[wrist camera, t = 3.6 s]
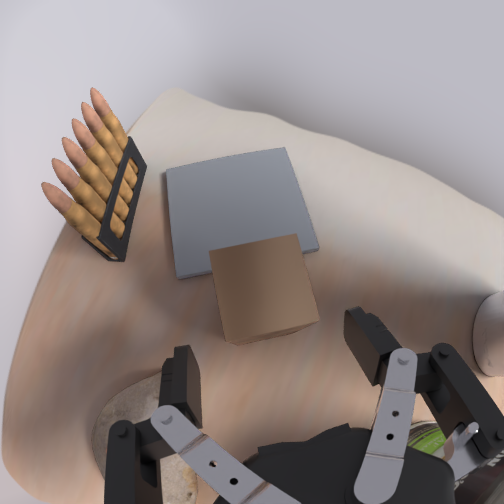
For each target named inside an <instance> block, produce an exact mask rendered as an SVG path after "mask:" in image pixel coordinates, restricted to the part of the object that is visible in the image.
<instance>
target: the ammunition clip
mask: <svg viewBox="0 0 504 504" xmlns="http://www.w3.org/2000/svg"><path fill="white" fill-rule="evenodd" d="M90 95H91V100H92V104H93V107H94V109H95V111H96V112H95V111H94V109H93V108H92V107H91V106H89V105H88V104H87V103H84V102H82V104H81V109H82V114H83V117H84V120H85V122H86V124H87V126H88V128H89V130H90V131H89V130H88V129H87V127H86V126H85V125H83V124H82V123H81V122H80V121H78V120H77V119H72V127H73V131H74V134H75V136H76V138H77V140H78V142H79V144H80V145H81V147H82V148H83V151H84V152H85V153H86V155H85V153H84V152H83V151H82V149H81V148H79V146H78V145H77V144H75V143H74V142H73V141H71V140H70V139H68V138H66V137H63V138H62V144H63V147H64V150H65V152H66V155H67V157H68V158H69V160H70V162H71V163H72V164H73V166H74V167H75V169H76V170H77V172H78V173H79V175H80V177H81V178H80V177H79V176H78V175H77V174H76V173H75V172H74V171H73V170H72V169H71V168H70V167H69V166H68V165H66V164H65V163H63V162H62V161H60V160H58V159H55V158H53V159H52V165H53V169H54V171H55V173H56V175H57V177H58V178H59V180H60V181H61V182H62V184H63V185H64V186H65V187H66V188H67V190H68V191H69V192H70V194H71V195H72V196H73V198H74V200H75V201H76V202H74V201H73V200H72V199H71V198H69V197H68V196H67V195H66V194H65V193H64V192H63V191H61V190H60V189H59V188H57V187H56V186H54V185H52V184H50V183H46V182H43V183H42V184H41V185H42V189H43V192H44V194H45V196H46V197H47V199H48V200H49V201H50V203H51V204H52V205H53V206H54V207H55V208H56V209H57V210H58V211H59V212H60V213H61V214H62V215H63V216H64V218H65V219H66V221H67V222H68V223H69V224H70V225H71V226H72V227H73V228H74V229H75V230H77V231H78V232H79V233H80V234H82V239H83V240H85V241H86V242H87V243H88V244H89V245H90V246H91V247H93V248H94V249H95V250H96V251H97V252H98V253H100V254H101V255H102V256H103V257H104V258H106V259H107V260H108V261H117V262H124V261H125V258H126V252H127V247H128V242H129V237H130V233H131V228H132V223H133V219H134V215H135V210H136V206H137V202H138V198H139V194H140V190H141V187H142V183H143V179H144V176H145V172H146V169H147V165H146V163H145V162H144V160H143V158H142V156H141V154H140V152H139V151H138V149H137V147H136V145H135V143H134V141H133V139H132V138H131V136H129V137H127V135H126V133H125V131H124V129H123V127H122V126H121V124H120V122H119V120H118V119H117V118H116V116H115V115H114V114H113V112H112V110H111V109H110V107H109V105H108V103H107V102H106V100H105V99H104V98H103V96H102V95H101V94H100V93H99V91H97V90H96V89H95V88H91V90H90Z"/></svg>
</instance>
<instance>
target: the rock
mask: <svg viewBox="0 0 504 504" xmlns="http://www.w3.org/2000/svg"><path fill="white" fill-rule="evenodd" d="M161 373H162V372H159V373H157V374H155V375H154V376H152V377H148V378H145V379H143V380H141V381H139V382H137V383H135V384H133V385H131V386H130V387H128V388H126V389H124V390H123V391H121V392H120V393H118V394H117V395H116V396H114V397H113V398H112V399H111V400H109V402H108V403H107V404H106V405H105V407H104V408H103V410H102V411H101V413H100V415H99V417H98V419H97V421H96V424H95V426H94V428H93V432H92V446H93V451H94V454H95V459H96V462H97V464H98V466H99V469H100V471H101V474H102V476H103V478H104V480H105V469H106V455H107V444H108V435H109V429H110V427H111V426H112V425H113V424H114V423H115V422H117V421H119V420H128V421H130V422H132V423H133V424H136V423H138V422H141V421H144V420H147V419H149V418H150V417H151V415H152V413H153V412H154V411H155V410H156V409H157V408H158V403H159V392H160V383H161V376H162V375H161ZM160 465H161V482H162V496H163V504H195V503H196V496H197V493H198V486H197V479H196V472H195V471H194V470H193V469H192V468H191V467H190V466H189V465H188V464H187V463H186V462H185V461H184V460H183V459H182V458H181V457H180V456H179V455H178V454H177V453H176V454H173V455H171V456H168V457H165V458H162V459H160Z"/></svg>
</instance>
